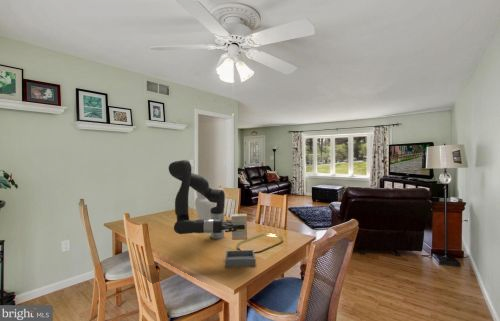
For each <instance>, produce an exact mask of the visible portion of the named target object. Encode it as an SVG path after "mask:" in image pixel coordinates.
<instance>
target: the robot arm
mask: <svg viewBox="0 0 500 321" xmlns="http://www.w3.org/2000/svg"><path fill="white" fill-rule="evenodd" d="M168 172H169V175H170V176H172V177H173V178H175V179H176V180H179V181H180V182H181V184H180V186H179V189H178V192H177V193H176V196H175V198H174V199H175V200H174V213H175V216H176V222H175V223H174V225H173V230H174V232H175V233H176V234H178V235H186V234H210V238H212V239H214V240H215V239H216V240H217V239H219V240H220V239H222V238H224V237H225V233H232V232H233V231H236V230H237V229H245V226H244V225H238V226H237V225H233V224H232V219H226V220H225V215H224V214H225V213H224V212H225V205H226V204H225V200H226V197H225V195H226V194H225V191H224V190H223V189H213V188H211V187H210V185H209V182H208V180H207V179H206V178H204V177H203V176H202V175H200V174H197V173H193V172H192V164H191V163H190V161H189V160H187V159H181V160H178V161H177V160H176V161H173V162H171V163H170V164H169V165H168ZM190 188H192V189H193V190H194V191H195V192H196V191H197V192H199V193H200V194H202V195H203V196H204V197H206V198H207V199H208V200H209V201H210V202H213V204H216V206H213V208H211V216H210V219H206V220H199V219H194V220H190V216H189V215H190V214H189V192H190Z"/></svg>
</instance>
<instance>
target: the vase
mask: <svg viewBox="0 0 500 321" xmlns="http://www.w3.org/2000/svg"><path fill="white" fill-rule="evenodd" d="M195 192H196V195H197V197H196V198H195V200H194V206H195V211H196V214H197V217H198V220H206V219H211V208H213V207H214V203H213V202H210V201H209V200H208V199H207V198H206V197H204V196H203V195H202V194H200V193H199V192H197V191H196V190H195Z"/></svg>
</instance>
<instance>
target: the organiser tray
mask: <svg viewBox="0 0 500 321" xmlns="http://www.w3.org/2000/svg"><path fill="white" fill-rule="evenodd" d="M254 251H255V250H254V249H240V250H239V249H237V250H226V251H225V268H228V267H248V266H249V267H250V266H252V267H255V266H256V256H255V253H254Z"/></svg>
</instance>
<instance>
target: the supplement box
mask: <svg viewBox="0 0 500 321" xmlns="http://www.w3.org/2000/svg"><path fill="white" fill-rule="evenodd" d="M231 220H232V224H233V225H237V226H238V225H244V226H245V229H237V230H236V231H233V232H231V240H232V241H239V240H241V241H244V240H247V239H248V215H247V213H231Z"/></svg>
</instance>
